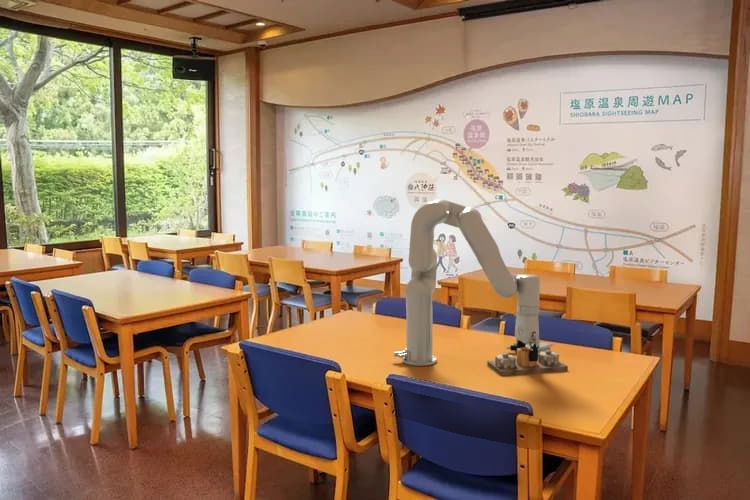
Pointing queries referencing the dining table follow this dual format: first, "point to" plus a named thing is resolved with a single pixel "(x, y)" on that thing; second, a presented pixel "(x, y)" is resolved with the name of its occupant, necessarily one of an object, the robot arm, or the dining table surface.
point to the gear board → (510, 367)
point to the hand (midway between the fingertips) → (526, 357)
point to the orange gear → (524, 357)
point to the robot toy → (542, 346)
